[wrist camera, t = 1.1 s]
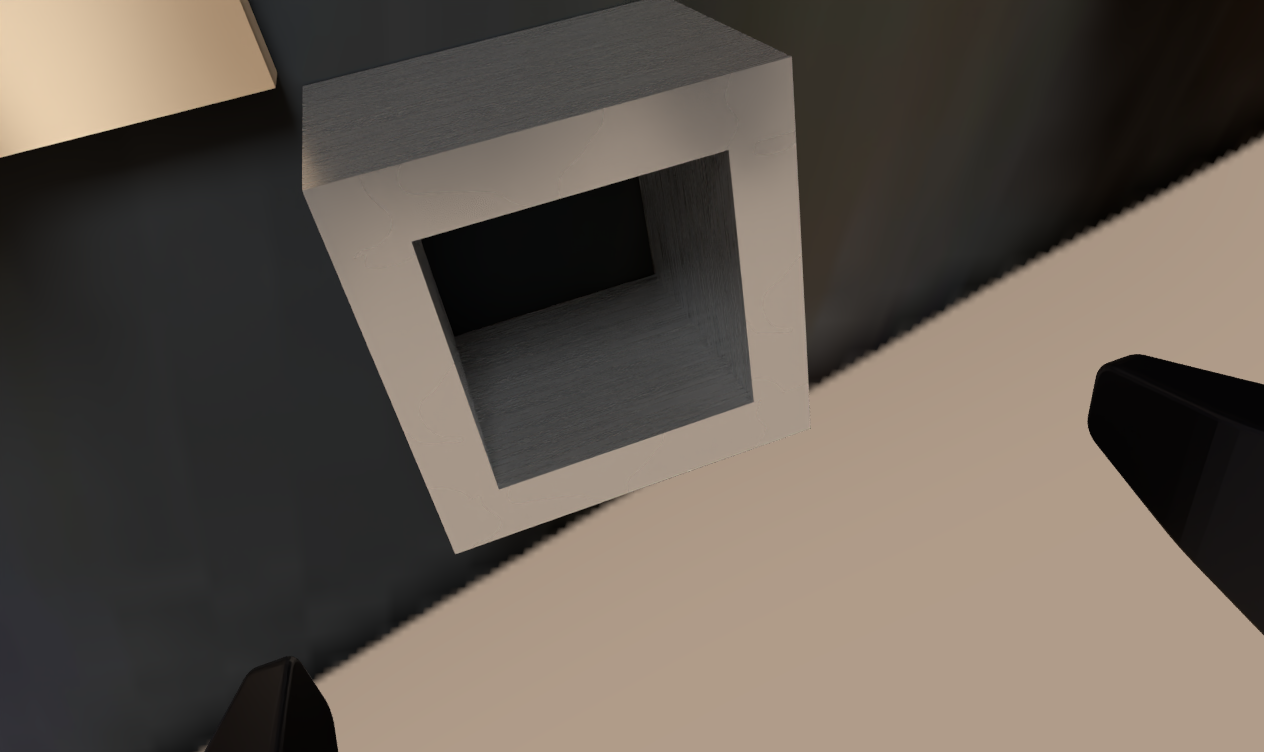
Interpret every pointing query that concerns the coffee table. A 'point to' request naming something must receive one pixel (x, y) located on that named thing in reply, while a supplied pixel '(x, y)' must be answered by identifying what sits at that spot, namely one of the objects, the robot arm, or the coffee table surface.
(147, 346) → the coffee table surface
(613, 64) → the white square hollow block
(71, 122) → the post stand
